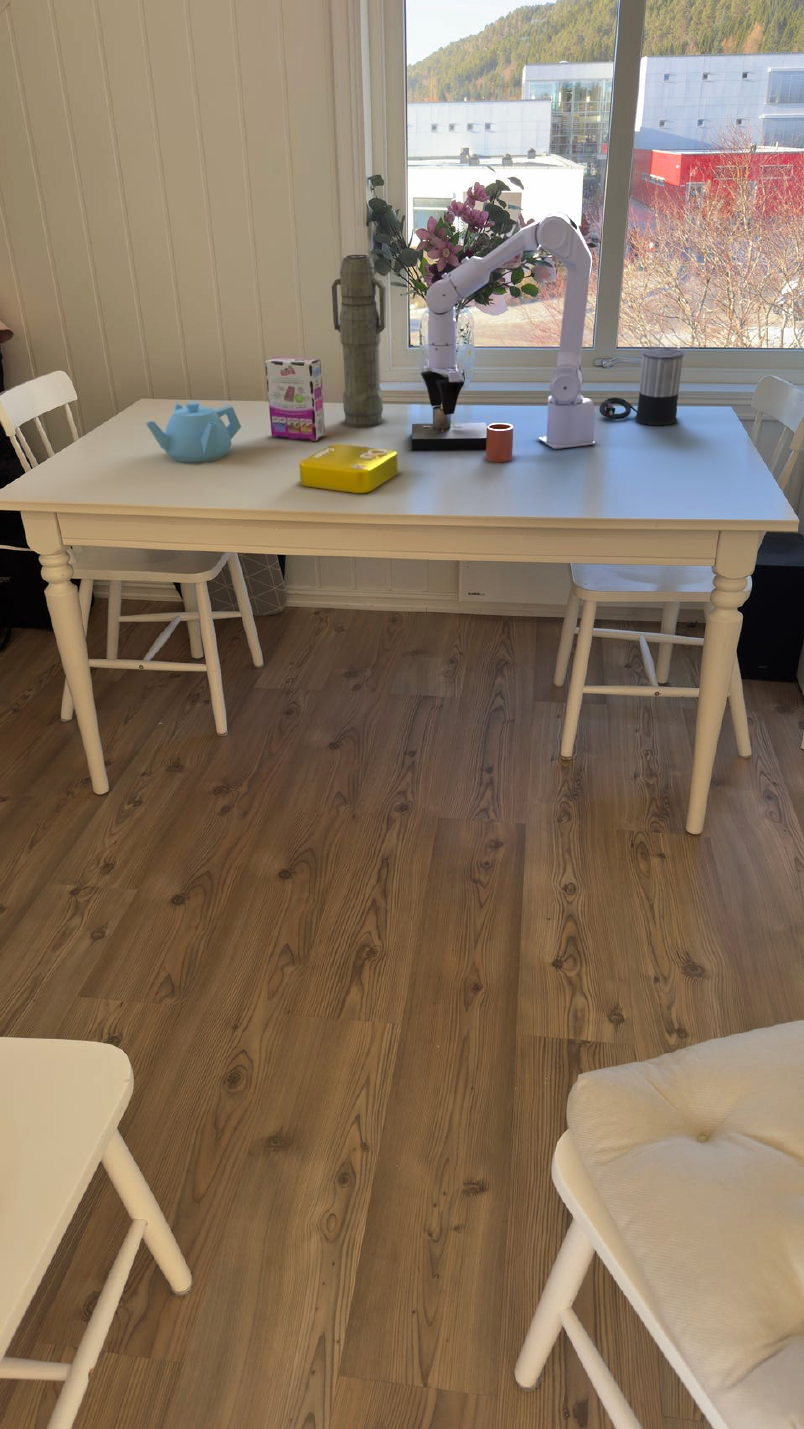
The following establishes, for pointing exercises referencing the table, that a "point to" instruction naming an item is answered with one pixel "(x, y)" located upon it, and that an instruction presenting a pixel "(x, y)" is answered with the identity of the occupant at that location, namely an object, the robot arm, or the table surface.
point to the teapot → (197, 433)
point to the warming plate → (449, 437)
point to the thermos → (360, 339)
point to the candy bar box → (295, 398)
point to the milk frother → (653, 389)
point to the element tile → (348, 468)
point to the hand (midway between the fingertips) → (442, 409)
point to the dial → (441, 418)
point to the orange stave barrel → (499, 442)
